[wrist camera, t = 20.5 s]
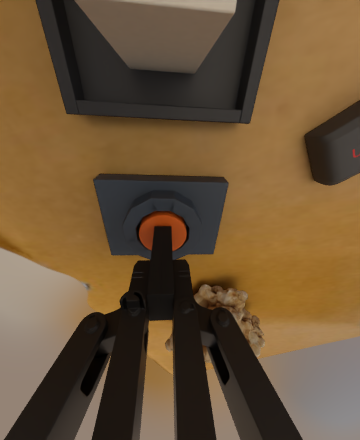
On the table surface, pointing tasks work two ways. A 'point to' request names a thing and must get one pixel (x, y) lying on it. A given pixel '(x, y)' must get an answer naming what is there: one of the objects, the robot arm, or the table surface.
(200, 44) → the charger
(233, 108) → the cradle
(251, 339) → the mineral formation
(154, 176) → the switch block
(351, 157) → the usb drive
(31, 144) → the table surface
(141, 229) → the button
